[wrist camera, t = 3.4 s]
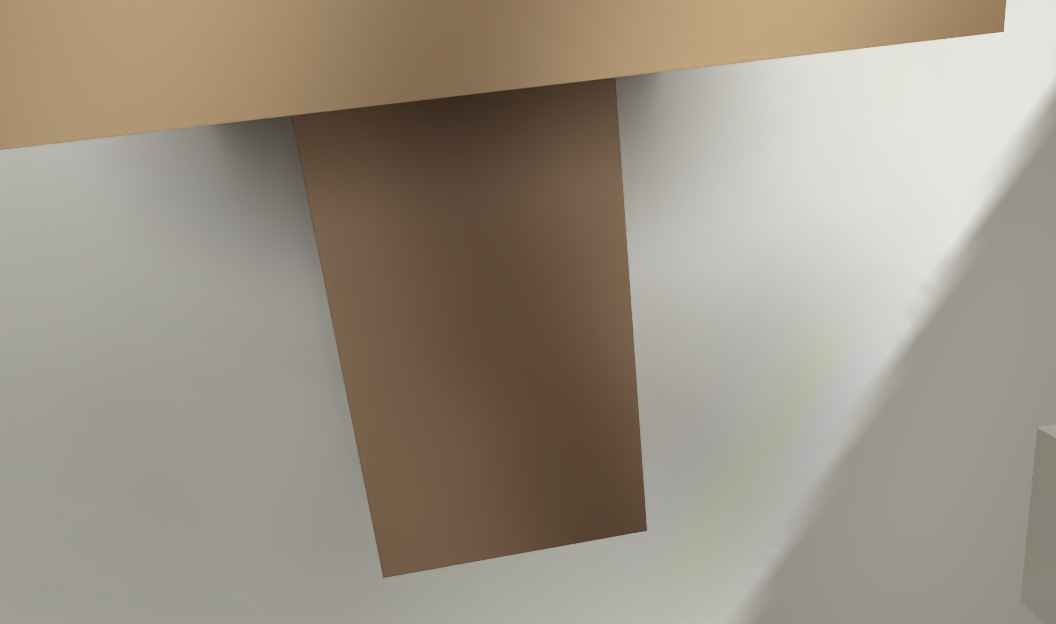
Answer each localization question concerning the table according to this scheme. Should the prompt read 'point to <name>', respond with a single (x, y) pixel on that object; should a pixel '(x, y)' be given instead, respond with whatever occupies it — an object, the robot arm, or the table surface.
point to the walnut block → (482, 317)
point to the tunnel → (393, 51)
